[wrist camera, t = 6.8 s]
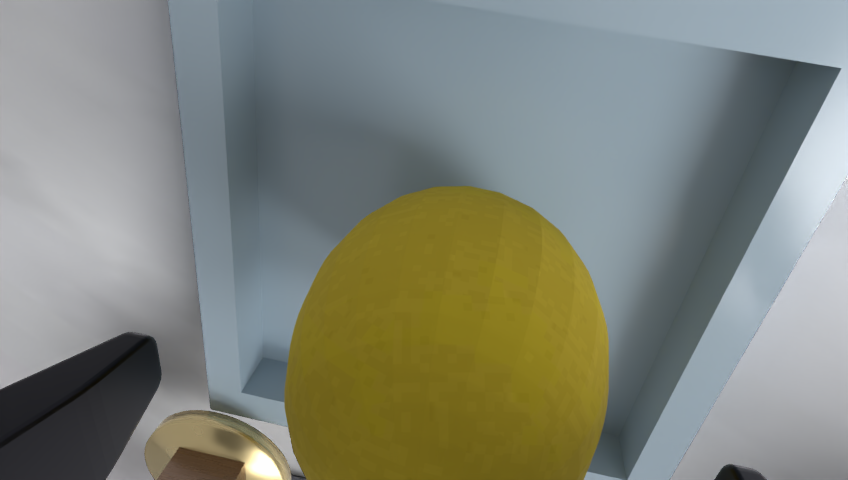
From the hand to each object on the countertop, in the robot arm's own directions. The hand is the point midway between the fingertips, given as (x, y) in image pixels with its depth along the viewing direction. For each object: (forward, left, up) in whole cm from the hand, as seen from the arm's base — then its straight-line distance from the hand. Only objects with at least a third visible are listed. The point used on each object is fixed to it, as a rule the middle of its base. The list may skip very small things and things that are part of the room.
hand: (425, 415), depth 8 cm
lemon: (0, 0, -6) cm, 6 cm away
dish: (0, 0, -7) cm, 7 cm away
